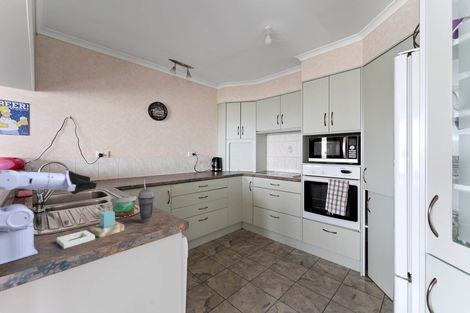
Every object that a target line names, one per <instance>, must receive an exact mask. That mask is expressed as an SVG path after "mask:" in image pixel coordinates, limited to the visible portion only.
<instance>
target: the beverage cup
mask: <svg viewBox="0 0 470 313" xmlns="http://www.w3.org/2000/svg"><path fill="white" fill-rule="evenodd" d="M154 199H155V195H154V191H152V189H150V188H147V187H146V180H145V179H143V189H141V190H140V191H139V193H138V195H137V201H138V206H139V217H140V218H139V219H140V223H141V224H148V223H151V222H152V221H153V220H152V218H153V207H154Z"/></svg>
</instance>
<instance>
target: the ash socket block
mask: <svg viewBox="0 0 470 313" xmlns="http://www.w3.org/2000/svg"><path fill="white" fill-rule="evenodd" d="M124 231H125V224H123V223H121V222H119V221H116V220H115V226H112V227H108V228H105V229H102V228H100V223H99V224H95V225H92V226H90V233H92V234H94V235H95V237H97V238H100V239H101V238H103V237H104V238H105V237H107V236H111V235H113V234H118V233H121V232H124Z"/></svg>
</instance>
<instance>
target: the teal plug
mask: <svg viewBox="0 0 470 313" xmlns="http://www.w3.org/2000/svg"><path fill="white" fill-rule="evenodd" d="M115 221H116V218H115V212H113V210H106V211H101V212H99V224H100V228H102V229H105V228H108V227H112V226H115Z"/></svg>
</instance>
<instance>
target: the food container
mask: <svg viewBox="0 0 470 313" xmlns="http://www.w3.org/2000/svg"><path fill="white" fill-rule="evenodd" d="M136 200H137V201H138V196H137V195H134V196H130V197H126V196H124V197H123V196H122V197H118V198H117V197H116V198H113V197H111V198H110V203H111V204H112V205H111V206H112V211H113V212H115V217H124V216H129V215H132V214H134V215H135V208H136ZM132 216H133V215H132Z"/></svg>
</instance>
